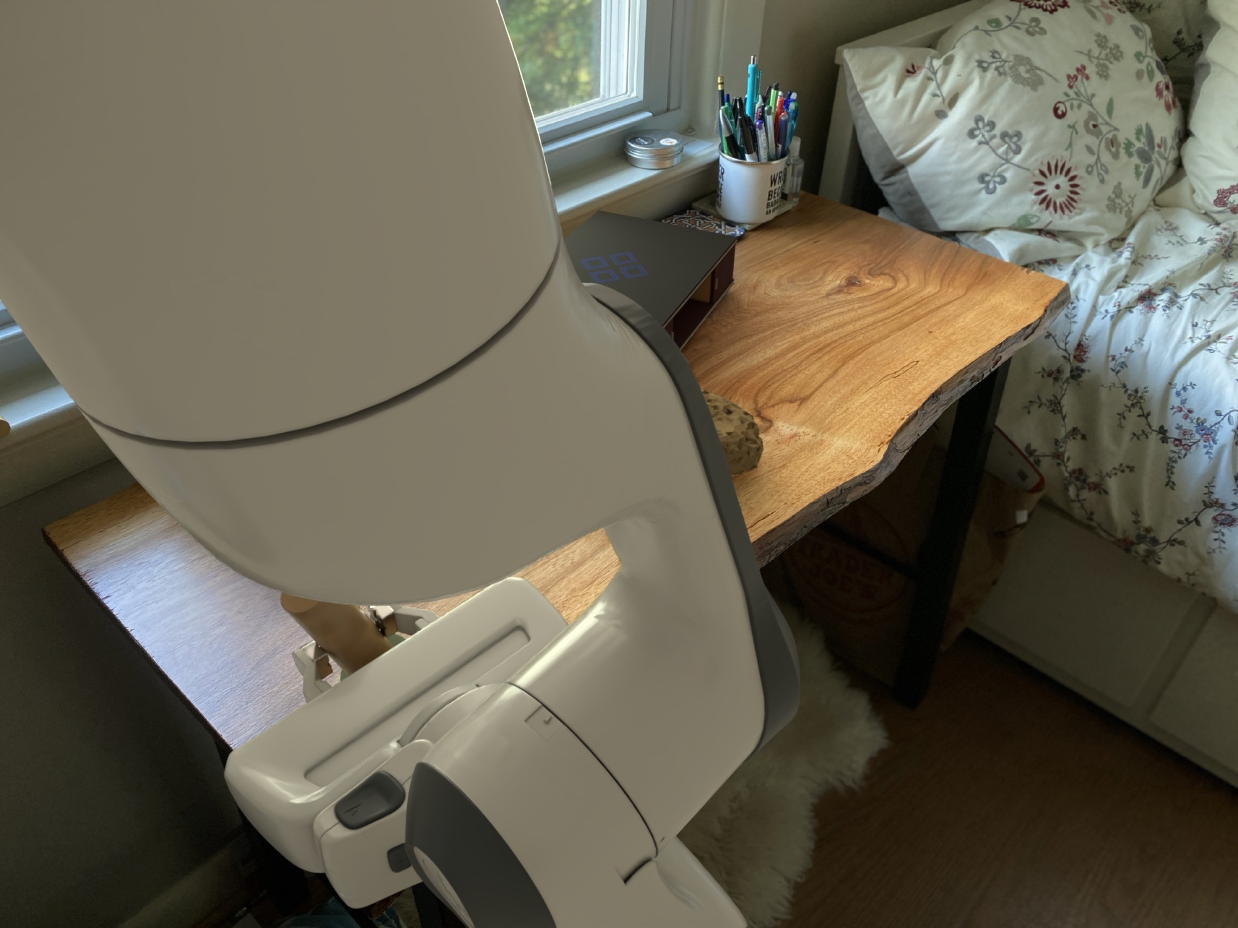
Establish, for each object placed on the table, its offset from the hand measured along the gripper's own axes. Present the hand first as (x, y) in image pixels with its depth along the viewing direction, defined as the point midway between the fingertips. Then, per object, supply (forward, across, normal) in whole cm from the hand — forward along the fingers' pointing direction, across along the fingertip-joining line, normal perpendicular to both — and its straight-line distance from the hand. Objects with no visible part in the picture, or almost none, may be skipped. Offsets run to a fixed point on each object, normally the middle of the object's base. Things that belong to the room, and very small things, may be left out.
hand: (341, 629), depth 57 cm
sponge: (+6, -34, +8) cm, 35 cm away
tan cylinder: (-1, -2, +6) cm, 7 cm away
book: (+24, -48, +8) cm, 54 cm away
